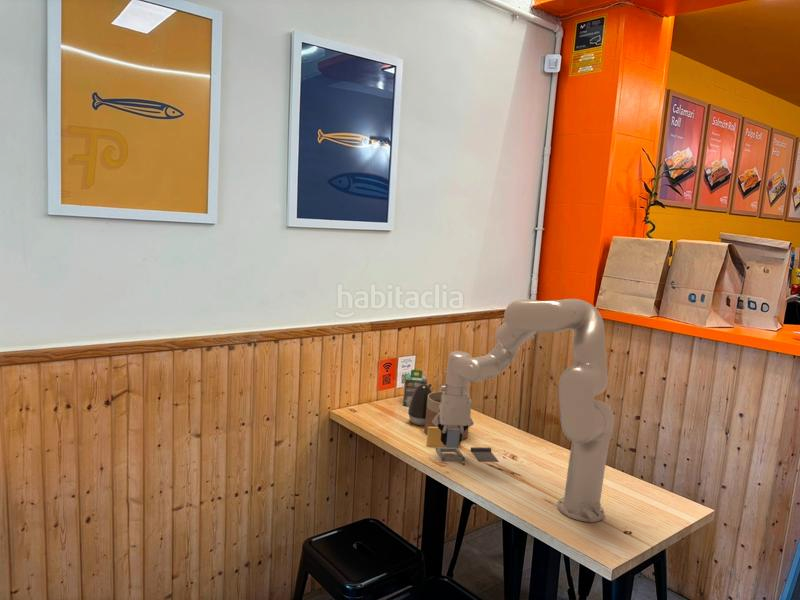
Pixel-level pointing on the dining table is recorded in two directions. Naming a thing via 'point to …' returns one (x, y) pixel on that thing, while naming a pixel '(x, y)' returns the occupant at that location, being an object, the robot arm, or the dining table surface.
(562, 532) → the dining table surface
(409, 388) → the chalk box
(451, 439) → the plug
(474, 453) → the dark grey lipped plate
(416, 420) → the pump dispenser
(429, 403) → the planter
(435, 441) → the port
